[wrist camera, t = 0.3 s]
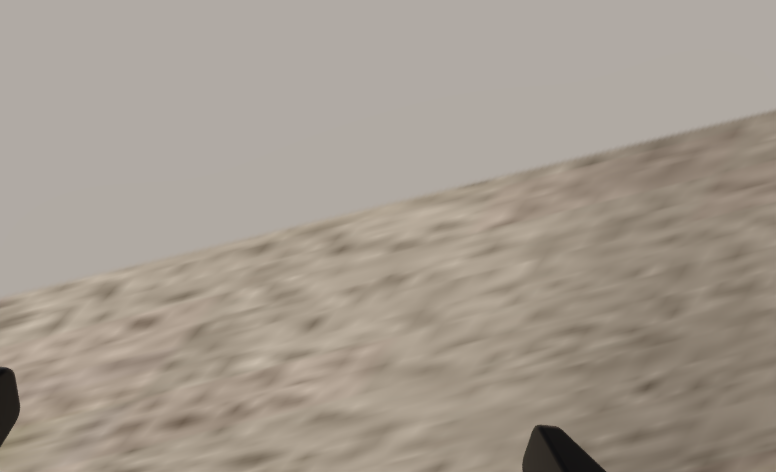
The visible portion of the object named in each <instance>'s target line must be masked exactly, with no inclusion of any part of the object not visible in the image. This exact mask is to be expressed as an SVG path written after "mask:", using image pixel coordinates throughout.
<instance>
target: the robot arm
mask: <svg viewBox="0 0 776 472" xmlns="http://www.w3.org/2000/svg"><path fill="white" fill-rule="evenodd" d="M19 412H20V402H19V396H18V390H17V384H16V378H15V374H14V372H13V371H12V370H11V369H9V368H6V367H0V447H1V445H2V444H3V442H4V440H5V439H6V437H7V436H8V434H9V432H10V431H11V429H12V427H13V426H14V424H15V422H16V420H17V418H18V416H19ZM522 470H523V472H606V471H605V470H604V469H603V468H602V467H601V466H600V465H599V464H598V463H597V462H596V461H595V460H593V459H592V458H591V457H590V456H589V455H588V454H587V453H586V452H585V451H584V450H583V449H582V448H581V447H580V446H579V445H578V444H577V443H575V442H574V441H573V440H572V439H571V438H570V437H569V436H568V435H567V434H566V433H565V432H564V431H563V430H562V429H560V428H559V427H556V426H548V425H537V426H535V427H534V429H533V431H532V434H531V437H530V439H529V442H528V445H527V448H526V451H525V454H524V457H523V464H522Z"/></svg>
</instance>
